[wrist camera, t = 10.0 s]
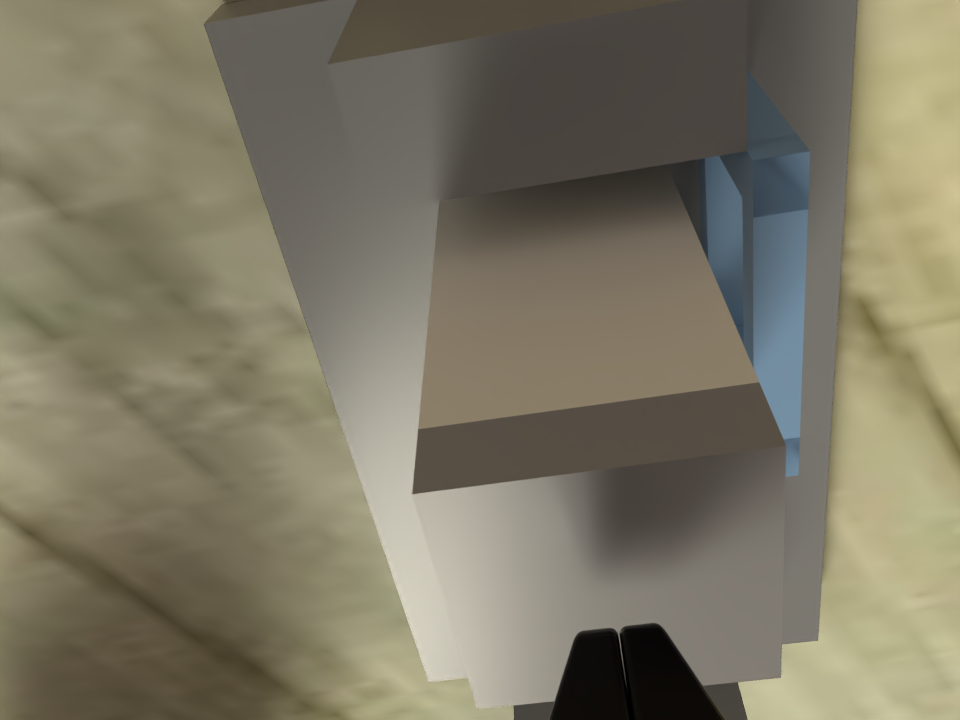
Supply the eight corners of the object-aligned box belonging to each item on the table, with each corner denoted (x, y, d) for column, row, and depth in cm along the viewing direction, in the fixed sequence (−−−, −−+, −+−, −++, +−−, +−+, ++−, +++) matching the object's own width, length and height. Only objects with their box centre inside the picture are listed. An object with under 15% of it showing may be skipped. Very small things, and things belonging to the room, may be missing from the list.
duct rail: (804, 602, 24) (871, 785, 19) (431, 643, 25) (420, 826, 21) (837, -112, 14) (984, -46, 10) (222, 4, 15) (123, 107, 11)
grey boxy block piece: (666, 313, 17) (781, 677, 10) (478, 340, 17) (477, 709, 11) (653, 132, 15) (785, 446, 8) (441, 167, 15) (412, 494, 9)
